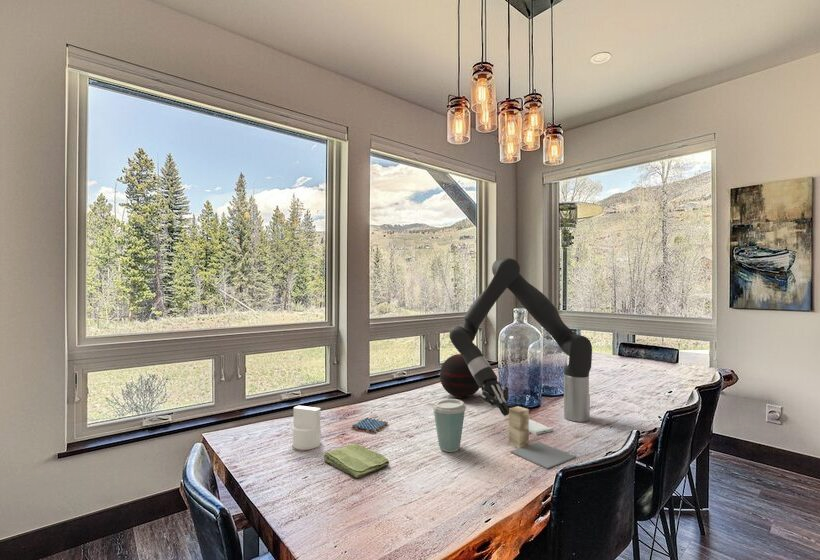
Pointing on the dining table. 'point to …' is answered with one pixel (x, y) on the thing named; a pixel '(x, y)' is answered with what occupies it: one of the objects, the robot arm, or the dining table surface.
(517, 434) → the maple block
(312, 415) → the white lidded canister
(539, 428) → the hard drive
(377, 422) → the woven mat
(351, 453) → the washcloth
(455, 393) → the decorative orb
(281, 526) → the dining table surface
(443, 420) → the disposable coffee cup
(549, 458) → the felt mat
